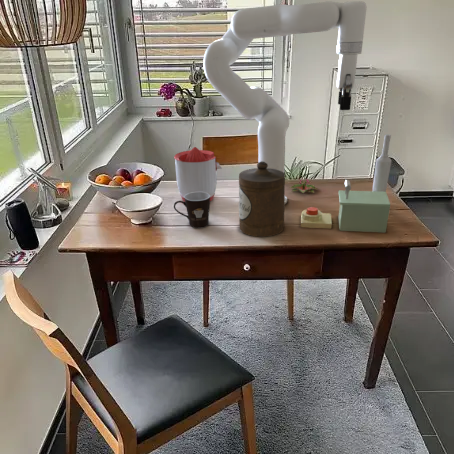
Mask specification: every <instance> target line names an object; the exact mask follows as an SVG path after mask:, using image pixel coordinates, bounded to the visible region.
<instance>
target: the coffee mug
mask: <svg viewBox="0 0 454 454" xmlns="http://www.w3.org/2000/svg"><path fill="white" fill-rule="evenodd" d="M184 198H185V202H184V201H183V200H177V201H175V202H174V203H173V209H174V211H175V212H177V213H178V214H179V215H181V216H183V217H185V218H187V220H188V223H189V226H190V227H191V228H194V229H202V228H206V227H208V226H209V220H210V203H211V201H210V194H208V193H205V192H192V193H188V194H186V195H185V196H184ZM179 203H181V204H183V206H184V207H185V209H186V213H187V214H185V213H183V212H181V211H179V210H178V209H177V208H176V205H177V204H179Z"/></svg>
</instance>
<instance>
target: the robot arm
mask: <svg viewBox="0 0 454 454" xmlns="http://www.w3.org/2000/svg"><path fill="white" fill-rule="evenodd" d="M366 16H367V3H366V2H365V1H361V0H352V1H344V2H338V1H336V2H335V1H332V0H325V1H320V2H310V3H302V4H274V5H265V6H256V7H247V8H241V9H238V10H236V11H235V12H234V13H233V15H232V17H231V19H230V27H229V28H228V29H227V31H226V32H225V33H224V34H223V35H222V37H221V38H219V39H216V40H214V41H212V42H211V43H210V44H209V45H208V46H207V47H206V49H205V52H204V55H203V61H202V63H203V64H202V65H203V71H204V76H205V78H206V80H207V81H208V83H209V84H210V86H212V87H213V89H214V90H215V91H216V92H217V93H218V94H219V95H221V97H222V98H224V100H225V101H226V102H227V103H228V104H229V105H230V106H231V107H232V108H233V109H235V111H236V112H237V113H238V114H239V115H240V116H241V117H242V118H244V119H246V120H255V121H256V122H257V123H258V127H257V145H258V147H257V148H258V149H257V150H258V154H257V155H258V157H257V159H258V163H259V162H261V161H263V162H265V163H267V165H268V167H267V168H270V169H276V170H280V171H282V172H283V173H284V174H285V167H286V134H287V131H288V129H289V127H290V117H289V115H288V113H287V112H286V111H285V109H284V108H283V107H282V106H281V105H280V103H278V102H277V101H276V100H275V99H274V98H273V97H272V96H271V94H269V93H268V92H267V91H265V89H264V88H261V87H260V86H250V85H249V84H248V83H246V82H245V81H244V79H242V77H241V76H240V75H238V73H236V72H235V71H234V70H233V69H232V68H231V65H233V64H234V63H235V62H236V61H238V59H239V58H240V57H241V55H242V54H243V53H244V52H245V51H246V50H247V48H248V47H249V45H251V43H252V42H253V40H255V39H256V40H257V39H264V38H276V37H277V38H278V37H287V36H291V35H300V34H310V33H321V32H322V33H323V32H328V31H330V30H332V29H338V35H337V45H336V54H337V55H339V59H338V66H337V75H336V88H337V89H338V90H339V91H338V96H337V105H339V110H340V111H350V110H351V103H352V90H353V89H354V86H355V81H356V80H355V79H356V74H357V63H358V55H361V54H362V53H363V44H364V34H365V25H366ZM287 203H288V197H287V196H286V195H285V196H284V205H286V204H287Z"/></svg>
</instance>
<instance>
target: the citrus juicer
mask: <svg viewBox="0 0 454 454" xmlns="http://www.w3.org/2000/svg"><path fill="white" fill-rule="evenodd" d="M173 159H174V162H175V163H174V165H175V177H176V185H177V189H178V192H179V195H180V198H181V200H182V201H183V202H185V198H184V196H185V195H186V194H188V193H192V192H205V193H208V194H210V202H212V201H213V200H214V198H215V194H216V190H217V182H218V181H217V180H218V175H217V173H218V172H217V171H218V169H219V170H222V169H223V168H222V165H221V164H220V162H218V161H217V156H215V152H214V151H211V150H204V149H199V148H198V147H196V146H194V147H192V148H191V150H184V151H181V152H178V153H175V155H174V157H173Z"/></svg>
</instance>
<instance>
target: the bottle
mask: <svg viewBox="0 0 454 454" xmlns="http://www.w3.org/2000/svg"><path fill="white" fill-rule="evenodd" d="M391 138H392V134H390V133H389V134H388V133H386V134H384V137H383V145H382V149H381V154H380V156H379V157H377V158H376V159H375V168H374V175H373V181H372V182H373V183H372V190H371V191H378V192H386V193H387V189H388V183H389V177H390V171H391V167H392V159H391V157H390V155H389V149H390V142H391Z"/></svg>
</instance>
